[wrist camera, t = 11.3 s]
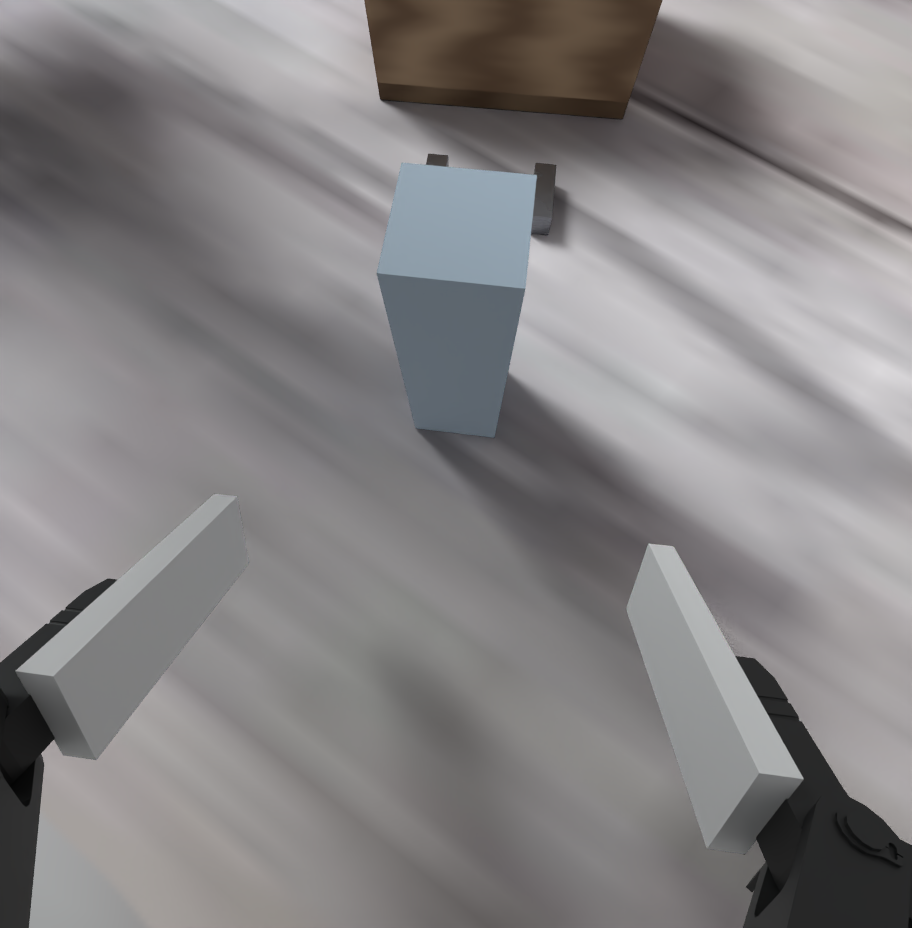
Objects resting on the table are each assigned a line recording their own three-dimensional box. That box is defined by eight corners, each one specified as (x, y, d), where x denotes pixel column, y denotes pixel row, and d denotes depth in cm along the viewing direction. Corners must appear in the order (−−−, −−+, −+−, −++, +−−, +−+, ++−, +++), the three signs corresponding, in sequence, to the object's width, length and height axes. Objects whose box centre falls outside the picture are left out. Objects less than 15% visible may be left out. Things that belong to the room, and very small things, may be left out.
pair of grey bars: (419, 222, 26) (418, 205, 25) (429, 172, 28) (428, 153, 26) (547, 234, 26) (551, 217, 25) (552, 183, 27) (556, 164, 26)
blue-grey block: (415, 428, 22) (376, 273, 12) (427, 359, 24) (401, 162, 13) (494, 437, 22) (525, 288, 12) (502, 367, 23) (536, 175, 13)
